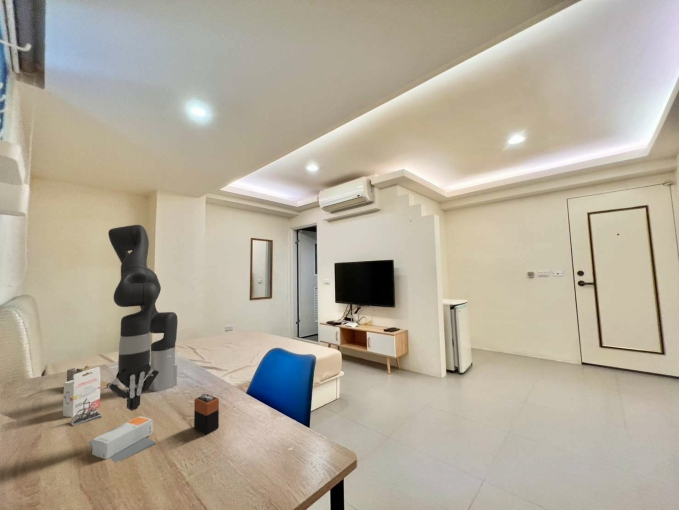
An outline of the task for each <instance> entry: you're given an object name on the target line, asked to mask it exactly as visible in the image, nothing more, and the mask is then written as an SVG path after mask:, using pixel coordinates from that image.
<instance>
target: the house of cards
mask: <svg viewBox="0 0 679 510" xmlns="http://www.w3.org/2000/svg"><path fill="white" fill-rule="evenodd" d="M86 400H87V398H86ZM86 400H85V401H84V403H83V405H84V404H88V403H89V407H88V408H84V406H83V409H81V410H78V412H77V413H76V415H75V416H74V417H71V420H70V421H69V424H70V426H73V427H74V426H78V425H81V424H82V425H83V424H84V423H88V422H91V421H94V420H98V419H101V418H102V413H100V412H99V411H98V409H97V408H95V409H93V408H94V407H93V406H91V407H90V403H91V402H87V403H85V402H86ZM89 408H91V410H90V411H88V412H87V411H86V410H87V409H89ZM82 410H84V411H83V412H82V413H81V412H80V411H82ZM85 411H86V412H85ZM79 412H80V413H81V414H78V413H79ZM77 414H78V415H77Z"/></svg>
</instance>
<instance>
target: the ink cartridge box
mask: <svg viewBox="0 0 679 510" xmlns="http://www.w3.org/2000/svg"><path fill="white" fill-rule="evenodd" d="M86 373H89V375H86V376H83V375H84V374H86ZM101 376H102V375H101V367H100V366H96V367H94V368H88V369H86V371H83V372H80V373H77V374H74V375H73V378H74V380H71V381H68V382H67V381H65V382H64V383H63V384H64V388H63V402H62V404H63V405H62V416H63V417H68V418H73V417H74V416H75V415H76V413H77V412H78V410H81V409H83V406H84V408H88V407H89V403H88V404H84V405H83V403H84V401H85V400H86V398H87V400H86V402H85V403H87V402H91V403H90V407H91V406H93V407H94V408H93V409H92V410H94V409H97V408H99V407H100V406H101V390H100V381H101ZM90 410H91V408H89V409H87V410H86V411H87V412H88V411H90ZM83 411H84V410H82V411H80V412H81V413H82V412H83ZM86 411H85V413H87V412H86ZM80 412H79V413H78V414H81V413H80ZM78 414H77V415H78Z"/></svg>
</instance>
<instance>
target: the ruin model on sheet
mask: <svg viewBox="0 0 679 510" xmlns="http://www.w3.org/2000/svg"><path fill="white" fill-rule="evenodd" d="M90 367H91V365H88V364H86V365H85V366H84V369H81V368H76V367H73V368H70V369H67V370H66V382H68V381H71V380H74V378H73V375H74V374H77V373H80V372H83V371H86V370H89V369H90ZM89 374H90V373H86V374H84V375H83V376H86V375H89ZM108 383H109V382H106V381H102V380H100V391H101V390H103V389H108V388H107V384H108ZM61 385H63V386H64V383H63V384H61Z"/></svg>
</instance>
